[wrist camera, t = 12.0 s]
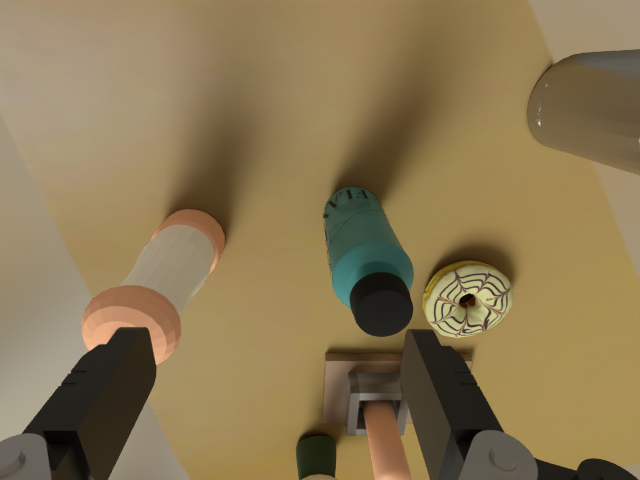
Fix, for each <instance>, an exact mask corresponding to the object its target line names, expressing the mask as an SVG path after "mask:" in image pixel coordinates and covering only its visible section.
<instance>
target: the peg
mask: <svg viewBox="0 0 640 480" xmlns="http://www.w3.org/2000/svg"><path fill="white" fill-rule="evenodd" d="M362 406H363V412H364V418H365V424H366V429H367V435H368V441H369V447H370V453H371V459H372V465H373V470H374V476H375V480H411V475H410V471H409V467H408V463H407V459H406V455H405V452H404V448H403V444H402V440H401V436H400V432H399V428H398V425H397V421H396V417H395V413H394V409H393V405H392V402H391V400H362Z"/></svg>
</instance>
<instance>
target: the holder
mask: <svg viewBox="0 0 640 480" xmlns="http://www.w3.org/2000/svg"><path fill="white" fill-rule="evenodd" d="M402 355H403V353H325V370H324V390H323V409H322V422H323V424H346V432H347V436H354V435H367V429H366V424H365V418H364V412H363V406H362V400H391V402H392V405H393V409H394V413H395V417H396V421H397V425H398V428H399V432H400V435H404V429H405V424H413V421H412V418H411V414H410V411H409V408H408V405H407V401H406V398H405V395H404V391H403V388H402V384H401V376H400V368H401V361H402ZM459 355H460V356H462V357H463V358H464V360H465V362H466V364H467V366H468V367H469V369H470V370H471V366H472V362H473V361H472V359H471V357H470V356H469V354H459Z"/></svg>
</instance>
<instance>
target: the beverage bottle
mask: <svg viewBox="0 0 640 480" xmlns="http://www.w3.org/2000/svg"><path fill="white" fill-rule="evenodd" d="M369 191H370V190H369ZM369 191H367V190H366V188H365V189H363V188H359V186H357V187H351V186H350V187H347V188H346V187H345V188H342V189H341V190H338V191H337V192H335V194H334V195H333V196H332V197H331V198H330V199H329V201H328V202H326V203H327V204H325V205H326V207H325V212H324V213H323V214H324V216H323V218H324V219H325V228H326V230H324V231H325V233H326V235H325V237H326V240H327V241H326V242H328V250H329V258H330V259H329V260H330V264H329V265H330V268H331V271H332V284H333V289H334V291H335V293H336V295H337V297H338V298H339V299H340V301H341V302H342V303H343V304H345V305H346V306H347V307H349V308H351V310H352V313H353V314H354V317H355V320H356V323H357V324H358V326H359V327H360V328H361V329H362V330H363V331H364V332H366V333H367V334H370V335H373V336H378V337H385V336H390V335H393V334H396V333H398V332H400V331H401V330H403V329H404V328H405V327H406V326H407V325H408V324H409V322H410V320H411V318H412V315H413V304H412V301H411V298H410V293H409V290H410V288H411V286H412V283H413V277H414V272H413V266H412V263H411V261H410V259H409V257H408V255H407V254H406V253H405V252H404V250H403V248H402V246H401V244H400V242H399V241H398V239H397V237H396V235H395V233H394V232H393V230H392V228H391V226H390V224H389V221H388V219H387V217H386V216H385V214H384V212H383V210H382V208H381V207H382V206H380V204H381V203H380V204H379V202H378V201H379V200H377V197H375V196H374V194H372V193H373V192H372V193H370V192H369ZM323 211H324V210H323ZM384 211H385V210H384ZM386 215H387V214H386ZM326 244H327V243H326ZM327 253H328V251H327ZM327 255H328V254H327ZM330 274H331V273H330Z"/></svg>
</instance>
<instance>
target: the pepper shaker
mask: <svg viewBox="0 0 640 480" xmlns="http://www.w3.org/2000/svg"><path fill="white" fill-rule="evenodd" d="M224 246H225V235H224V233H223V230H222V228H221V226H220V225H219V223H218V222H217V221H216V220H215V219H214V218H213V217H211V216H210V215H208V214H207V213H205V212H202V211H199V210H195V209H184V210H180V211H176V212H175V213H173V214H172V215H170V216H169V217H168V218H167V219H166V220H165V221H164V222H163V223H162V224H161V225H160V226H159V227H158V228H157V230H156V231H155V232H154V234H153V235H152V239H151V241H150V242H149V243H148V244H147V245H146V246H145V247H144V249H143V250H142V252H141V253H140V255H139V257H138V259H137V261H136V263H135V265H134V267H133V269H132V271H131V273H130V274H129V275H128V276H127V278H126V279H125V280H124V281H123V282H122V283H121V285H120V286H119V287H115V288H111V289H108V290H106V291H104V292H102V293H100V294H99V295H97V296H96V297H94V298H93V299H92V300H91V302H90V303H89V305H88V306H87V307H86V309H85V312H84V314H83V318H82V323H81V330H82V334H83V339H84V343H85V345H86V346H87V348H88V349H89V351H91V350H92V349H93V348H95V347H96V346H97V345H99V344H107V342H108V341H109V340H110V338H111V337H112V335H113V334H114V333H115V331H116V330H117V329H118V328H120V327H147V328H148V330H149V332H150V337H151V342H152V347H153V352H154V357H155V362H156V365H157V364H159V363H161V362H162V361H164V360H166V359H167V358H168V357H169V356H170V355H171V353H172V352H173V351H174V350H175V349H176V348H177V346H178V344H179V341H180V337H181V324H180V317H181V315H182V313H183V311H184V309H185V308H186V306H187V304H188V302H189V301H190V299H191V298H192V297H193V296H194V295H195V294H196V293H197V291H198V290H199V289H200V288H201V287H202V285H203V284H204V283H205V282H206V279H207V277H208V274H209V273H211V272H212V270H213V269H214V268H215V267H216V265H217V263H218V261H219V259H220V257H221V254H222V252H223V249H224Z"/></svg>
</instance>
